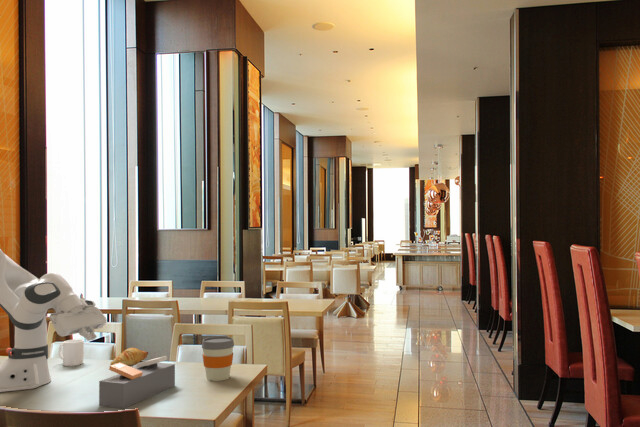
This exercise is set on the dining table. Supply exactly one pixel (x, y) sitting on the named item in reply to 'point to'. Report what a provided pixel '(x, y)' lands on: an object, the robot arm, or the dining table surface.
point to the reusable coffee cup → (217, 357)
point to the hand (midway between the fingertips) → (92, 339)
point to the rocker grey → (151, 361)
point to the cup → (72, 352)
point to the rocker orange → (125, 371)
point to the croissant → (130, 357)
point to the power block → (136, 385)
